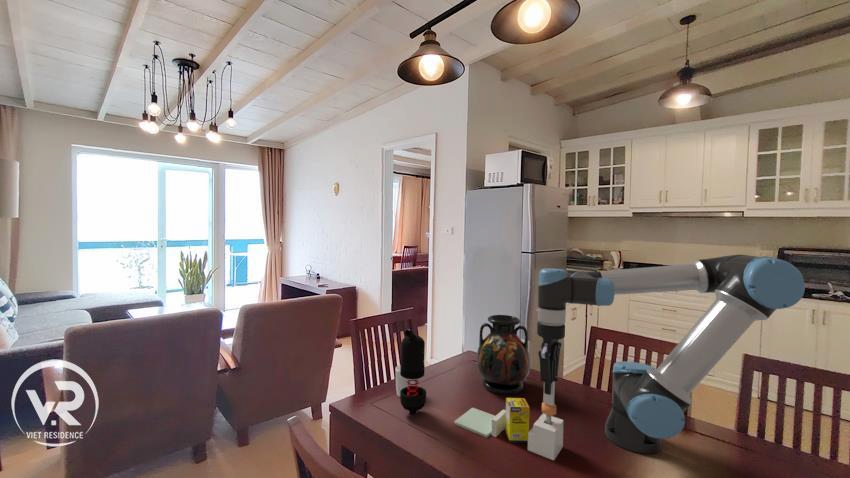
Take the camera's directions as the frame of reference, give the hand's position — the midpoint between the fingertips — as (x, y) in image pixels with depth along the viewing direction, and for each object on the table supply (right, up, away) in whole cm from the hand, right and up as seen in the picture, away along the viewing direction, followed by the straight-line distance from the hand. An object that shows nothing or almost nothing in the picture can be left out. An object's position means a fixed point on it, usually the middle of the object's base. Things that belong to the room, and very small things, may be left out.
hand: (548, 403), depth 102 cm
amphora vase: (-4, -13, +41) cm, 44 cm away
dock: (-5, -13, +4) cm, 15 cm away
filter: (-39, -12, +21) cm, 46 cm away
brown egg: (0, -7, 0) cm, 7 cm away
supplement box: (-8, -13, +6) cm, 17 cm away
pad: (-18, -13, +14) cm, 26 cm away
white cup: (-43, -12, +34) cm, 56 cm away
